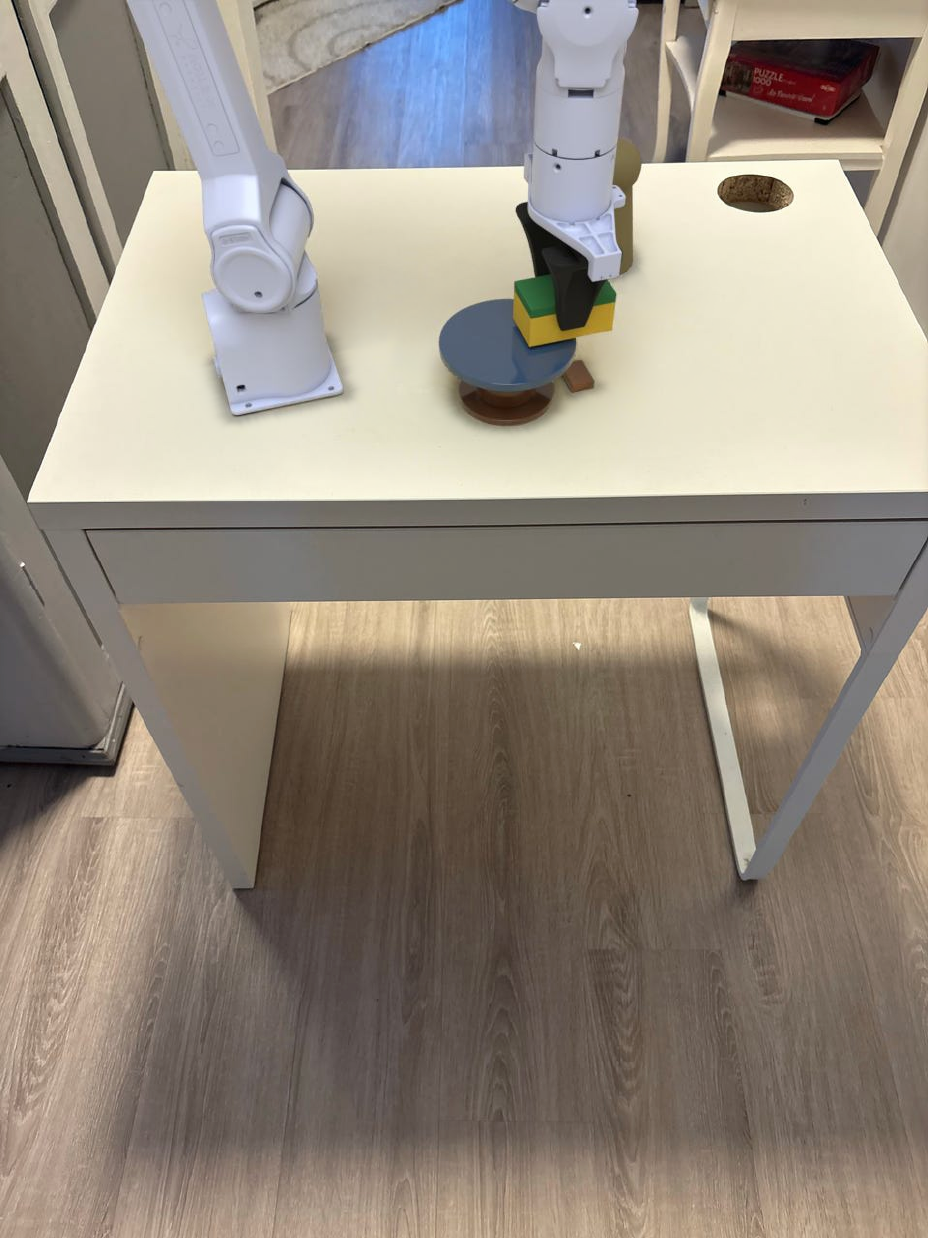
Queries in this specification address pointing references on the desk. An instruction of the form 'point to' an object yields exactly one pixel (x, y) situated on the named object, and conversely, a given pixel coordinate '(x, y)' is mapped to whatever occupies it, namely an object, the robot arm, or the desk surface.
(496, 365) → the blue-grey round pedestal
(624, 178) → the olive chess pawn
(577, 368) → the brown flat block
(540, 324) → the sponge
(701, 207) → the desk surface
